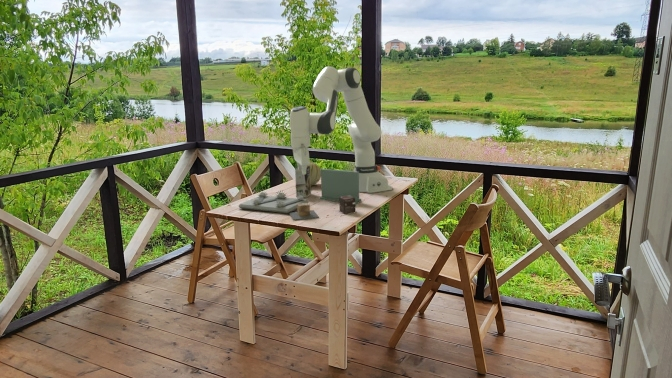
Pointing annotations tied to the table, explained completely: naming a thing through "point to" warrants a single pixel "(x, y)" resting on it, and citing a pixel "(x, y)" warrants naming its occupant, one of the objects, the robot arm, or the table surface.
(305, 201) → the grey spiky constellation board
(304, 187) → the coffee box
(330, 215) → the table surface
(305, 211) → the letter cube
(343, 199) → the box
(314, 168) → the cantaloupe
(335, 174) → the screen
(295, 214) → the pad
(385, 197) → the table surface
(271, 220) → the table surface
